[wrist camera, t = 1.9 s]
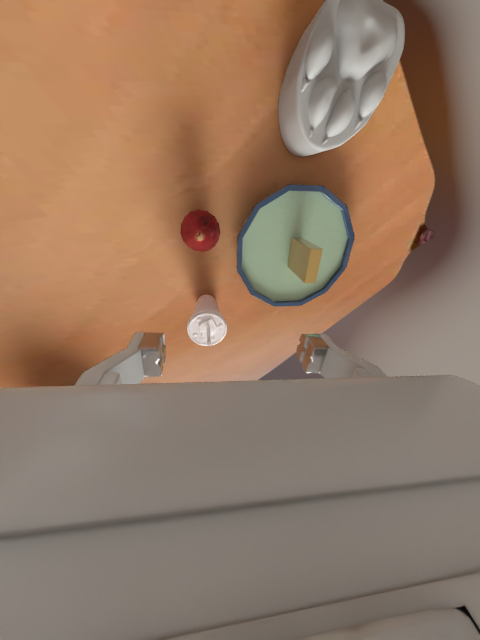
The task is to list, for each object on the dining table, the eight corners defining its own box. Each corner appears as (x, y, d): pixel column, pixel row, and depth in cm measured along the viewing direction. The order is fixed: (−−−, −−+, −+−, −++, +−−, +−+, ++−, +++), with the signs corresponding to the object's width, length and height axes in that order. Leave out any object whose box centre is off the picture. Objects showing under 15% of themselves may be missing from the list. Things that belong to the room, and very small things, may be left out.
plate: (237, 182, 33) (247, 182, 25) (363, 187, 35) (404, 187, 28) (235, 304, 43) (241, 329, 36) (332, 301, 46) (357, 323, 38)
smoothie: (227, 294, 43) (236, 334, 32) (216, 320, 46) (220, 367, 34) (195, 283, 42) (192, 322, 30) (186, 312, 44) (179, 358, 32)
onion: (193, 199, 35) (191, 203, 28) (225, 221, 37) (229, 229, 30) (176, 233, 37) (170, 243, 30) (207, 252, 39) (208, 266, 32)
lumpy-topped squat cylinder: (374, 61, 29) (431, 19, 22) (321, 170, 35) (352, 167, 28) (309, 6, 26) (351, -64, 19) (262, 136, 32) (280, 121, 24)
